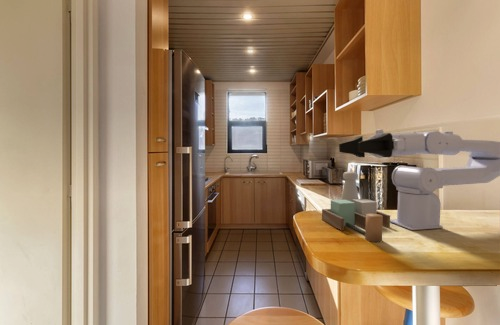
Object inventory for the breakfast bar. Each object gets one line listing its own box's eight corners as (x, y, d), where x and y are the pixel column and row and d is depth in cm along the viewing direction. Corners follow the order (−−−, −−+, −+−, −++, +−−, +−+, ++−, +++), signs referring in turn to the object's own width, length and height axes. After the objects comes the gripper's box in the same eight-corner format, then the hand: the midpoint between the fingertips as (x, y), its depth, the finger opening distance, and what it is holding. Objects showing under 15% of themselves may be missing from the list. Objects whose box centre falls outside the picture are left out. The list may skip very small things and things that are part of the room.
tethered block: (344, 220, 74) (345, 199, 74) (387, 241, 58) (388, 214, 58) (330, 221, 74) (330, 200, 73) (369, 243, 57) (370, 215, 57)
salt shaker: (361, 216, 79) (362, 173, 79) (341, 215, 80) (342, 172, 80) (357, 211, 85) (358, 171, 84) (338, 210, 86) (339, 170, 85)
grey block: (365, 219, 76) (366, 198, 75) (376, 223, 71) (376, 202, 71) (351, 220, 75) (352, 199, 75) (361, 224, 70) (361, 202, 70)
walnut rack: (365, 217, 78) (365, 207, 78) (389, 227, 68) (390, 215, 68) (321, 219, 75) (322, 209, 75) (340, 230, 66) (341, 218, 65)
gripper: (375, 131, 74) (332, 133, 71) (419, 125, 60) (368, 127, 57) (376, 156, 74) (333, 159, 71) (421, 156, 60) (369, 160, 57)
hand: (348, 147), depth 64 cm, fingers open, 7 cm apart
